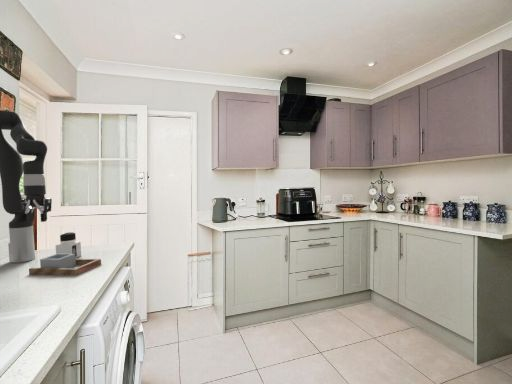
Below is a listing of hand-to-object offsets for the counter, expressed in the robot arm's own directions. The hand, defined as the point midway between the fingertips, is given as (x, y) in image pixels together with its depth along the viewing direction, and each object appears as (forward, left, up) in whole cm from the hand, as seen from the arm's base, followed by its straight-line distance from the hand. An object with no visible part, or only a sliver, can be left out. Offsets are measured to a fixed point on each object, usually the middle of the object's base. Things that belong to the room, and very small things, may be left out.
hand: (37, 221), depth 120 cm
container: (-1, +17, -22) cm, 28 cm away
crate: (+9, 0, -22) cm, 24 cm away
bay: (+13, 0, -22) cm, 26 cm away
